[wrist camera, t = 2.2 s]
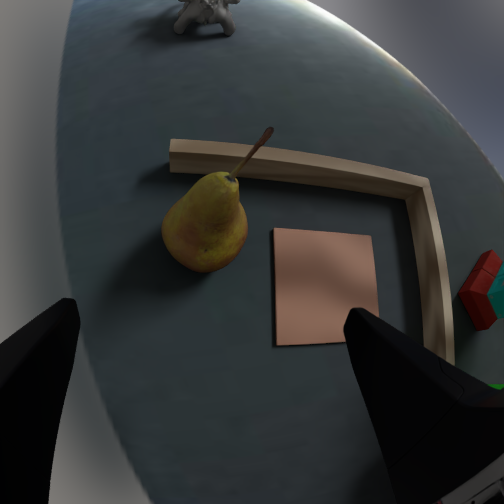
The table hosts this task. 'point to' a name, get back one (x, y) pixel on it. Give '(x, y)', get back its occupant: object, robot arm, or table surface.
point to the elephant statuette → (206, 14)
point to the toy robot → (485, 291)
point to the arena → (335, 243)
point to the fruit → (209, 220)
